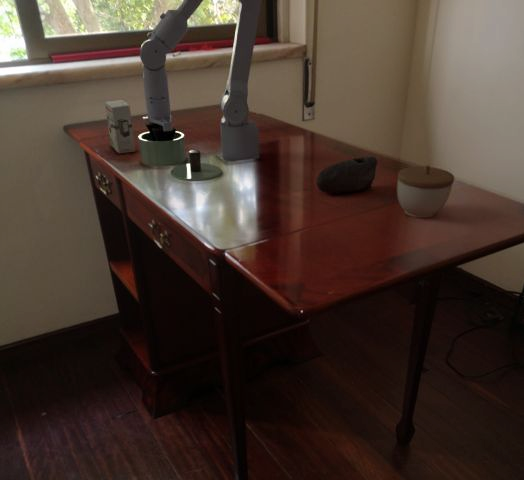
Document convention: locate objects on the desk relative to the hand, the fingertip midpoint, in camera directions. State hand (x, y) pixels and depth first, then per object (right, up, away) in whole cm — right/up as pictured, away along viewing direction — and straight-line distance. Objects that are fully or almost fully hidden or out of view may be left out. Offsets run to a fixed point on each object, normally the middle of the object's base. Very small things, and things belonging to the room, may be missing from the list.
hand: (163, 154), depth 136 cm
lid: (+10, -8, -8) cm, 15 cm away
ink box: (-13, +5, +11) cm, 18 cm away
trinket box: (+58, -22, -27) cm, 68 cm away
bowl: (0, -2, +1) cm, 2 cm away
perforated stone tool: (+45, -15, -17) cm, 50 cm away
